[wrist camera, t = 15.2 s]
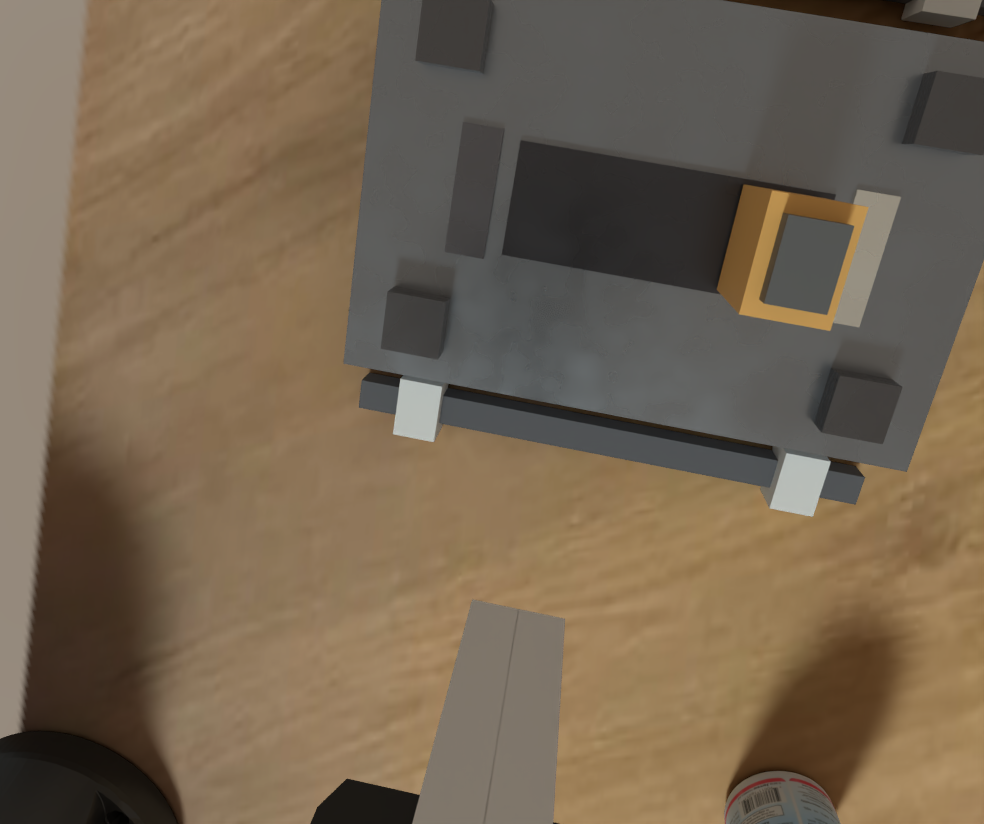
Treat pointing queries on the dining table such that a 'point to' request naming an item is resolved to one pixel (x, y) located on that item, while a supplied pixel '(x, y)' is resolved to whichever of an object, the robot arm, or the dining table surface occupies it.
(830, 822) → the pill bottle
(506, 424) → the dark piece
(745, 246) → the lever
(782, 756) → the dining table surface
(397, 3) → the panel
